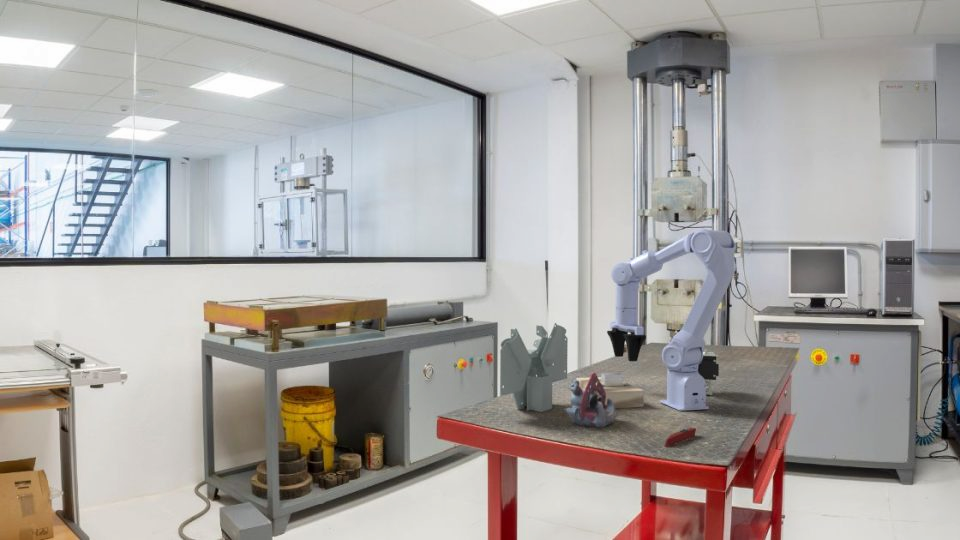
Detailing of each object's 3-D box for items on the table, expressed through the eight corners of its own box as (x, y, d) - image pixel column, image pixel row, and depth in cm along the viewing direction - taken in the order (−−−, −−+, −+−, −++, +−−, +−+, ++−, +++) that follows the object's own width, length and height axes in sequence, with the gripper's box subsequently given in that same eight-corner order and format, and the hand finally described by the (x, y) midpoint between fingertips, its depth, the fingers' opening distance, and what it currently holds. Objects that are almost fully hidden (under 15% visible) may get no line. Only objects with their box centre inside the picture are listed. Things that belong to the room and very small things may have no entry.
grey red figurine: (609, 421, 126) (579, 371, 131) (572, 445, 132) (543, 396, 136) (632, 411, 135) (603, 364, 140) (596, 434, 141) (569, 388, 145)
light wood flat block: (643, 406, 150) (643, 390, 150) (606, 408, 147) (606, 392, 147) (610, 391, 167) (610, 376, 167) (576, 392, 165) (576, 378, 165)
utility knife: (692, 435, 126) (692, 425, 126) (697, 436, 125) (697, 426, 125) (662, 446, 118) (662, 436, 118) (667, 448, 117) (667, 437, 117)
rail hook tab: (623, 402, 155) (623, 374, 154) (604, 402, 154) (605, 375, 153) (619, 399, 157) (619, 372, 157) (600, 400, 156) (601, 373, 156)
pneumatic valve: (697, 397, 160) (697, 352, 159) (695, 388, 171) (695, 346, 171) (719, 399, 158) (720, 353, 158) (716, 390, 169) (716, 347, 169)
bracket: (554, 396, 161) (555, 320, 160) (578, 400, 156) (578, 322, 156) (487, 416, 140) (487, 328, 139) (511, 421, 135) (512, 331, 135)
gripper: (600, 306, 169) (599, 355, 169) (626, 310, 155) (625, 363, 155) (623, 305, 171) (622, 354, 171) (651, 310, 157) (650, 362, 157)
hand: (625, 358), depth 164 cm, fingers open, 7 cm apart
